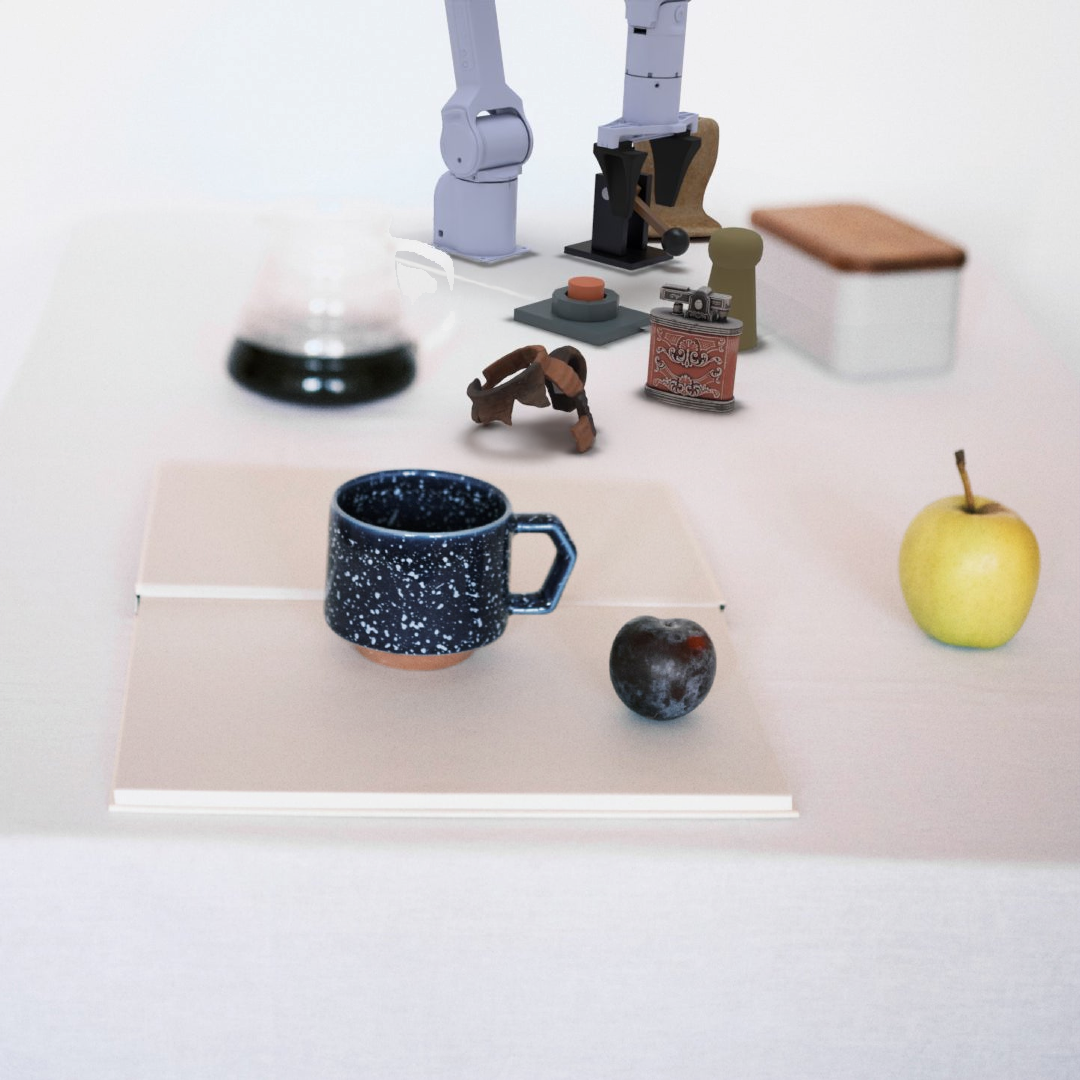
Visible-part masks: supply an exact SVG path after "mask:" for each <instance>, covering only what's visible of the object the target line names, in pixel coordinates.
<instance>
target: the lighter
mask: <svg viewBox="0 0 1080 1080" xmlns="http://www.w3.org/2000/svg"><path fill="white" fill-rule="evenodd" d="M690 287H691V286H689V285H688V286H687V285H682V284H675V283H668V282H665V283H663V284H662V285H661V286H660V287H659V300H660V301H661V300H662V301H666V302H673V304H672V306H673V307H667V306H657V307H654V308H652V309H651V310H650V313H649V314H650V321H651V322H652V324H651V328H650V340H649V351H648V362H647V363H648V364H647V378H646V381H645V383H644V390H643V394H644V396H645V397H646V398H649V399H652V400H656V401H659V402H662V403H666V404H671V405H676V406H679V407H685V408H689V409H690V408H691V409H695V410H703V411H709V412H718V413H724V412H730V411H733V410H734V408H735V400H736V397H735V395H734V390H735V381H736V372H737V363H738V356H739V355H738V354H739V351H738V345H739V336H740V334H741V333H742V328H743V322H742V321H740V320H738V319H734V318H730V317H727V315H728V313H729V309H730V307H731V298H732V297H731V296H729V295H724V294H718V293H714V292H713V290H712V289H711V288H710V287H708V285H702V286H700V287H698V289H692V288H690ZM684 304H685V305H687V308H686V309H685V308H684ZM716 309H718V315H717V310H716Z"/></svg>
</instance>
